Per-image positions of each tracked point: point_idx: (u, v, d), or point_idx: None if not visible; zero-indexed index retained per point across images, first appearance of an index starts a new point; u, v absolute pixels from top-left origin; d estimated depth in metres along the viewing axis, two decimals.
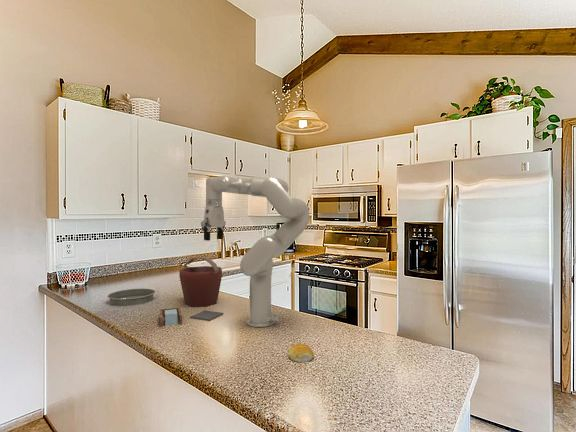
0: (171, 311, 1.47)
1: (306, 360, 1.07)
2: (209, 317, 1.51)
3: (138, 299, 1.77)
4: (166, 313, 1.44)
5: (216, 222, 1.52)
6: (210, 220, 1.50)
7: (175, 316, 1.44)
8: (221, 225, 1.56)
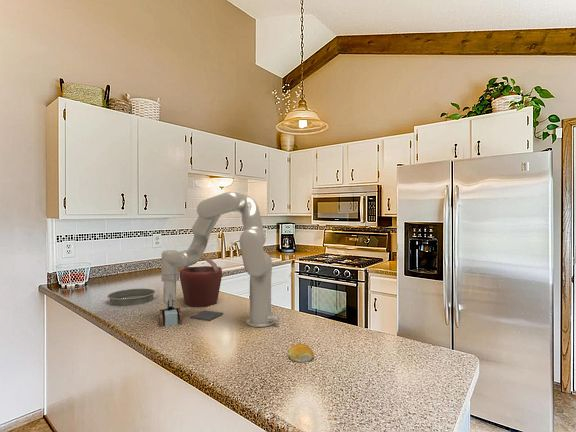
0: (171, 311, 1.46)
1: (306, 360, 1.07)
2: (209, 317, 1.51)
3: (138, 299, 1.77)
4: (166, 313, 1.43)
5: None
6: None
7: (175, 316, 1.43)
8: None
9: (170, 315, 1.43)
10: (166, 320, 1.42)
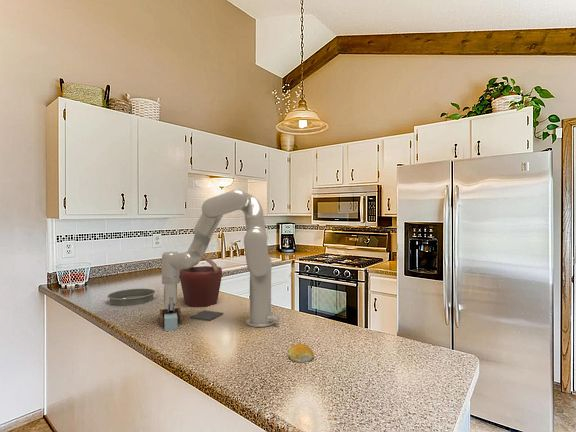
0: (171, 315, 1.40)
1: (306, 360, 1.07)
2: (209, 317, 1.51)
3: (138, 299, 1.77)
4: (166, 317, 1.37)
5: None
6: None
7: (175, 320, 1.37)
8: (164, 304, 1.43)
9: (170, 319, 1.37)
10: (165, 324, 1.36)
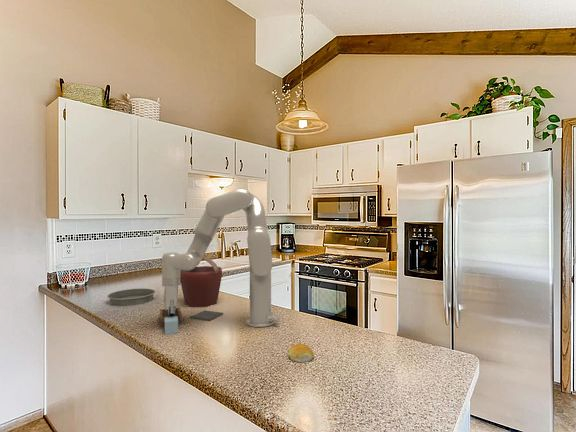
0: (171, 318, 1.36)
1: (306, 360, 1.07)
2: (209, 317, 1.51)
3: (138, 299, 1.77)
4: (166, 320, 1.33)
5: (164, 302, 1.42)
6: None
7: (176, 324, 1.33)
8: None
9: (170, 323, 1.32)
10: (166, 328, 1.32)
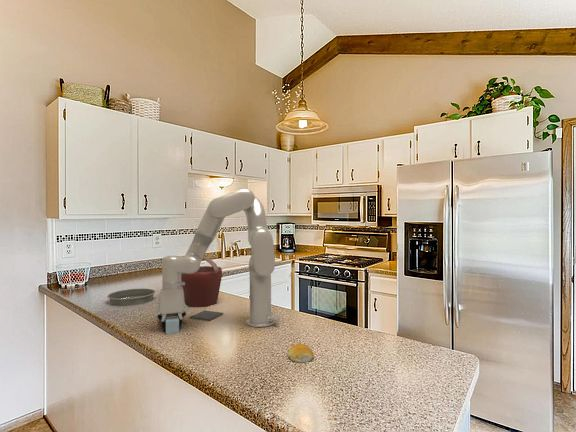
0: (172, 318, 1.36)
1: (306, 360, 1.06)
2: (209, 317, 1.51)
3: (138, 299, 1.77)
4: (167, 320, 1.33)
5: None
6: None
7: (177, 324, 1.33)
8: None
9: (171, 322, 1.32)
10: (167, 328, 1.32)
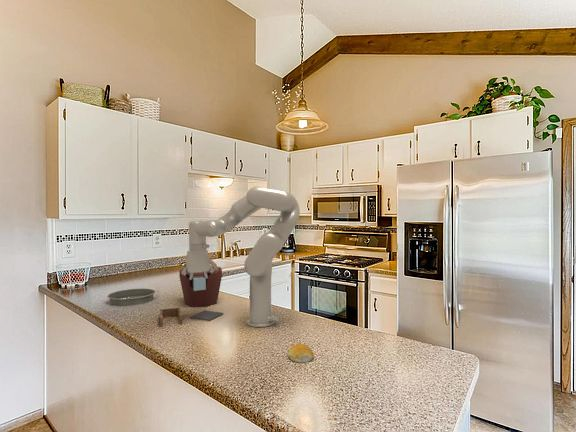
0: (198, 277, 1.50)
1: (306, 360, 1.06)
2: (209, 317, 1.51)
3: (138, 299, 1.77)
4: (194, 278, 1.46)
5: None
6: None
7: (203, 281, 1.47)
8: None
9: (199, 280, 1.46)
10: (195, 285, 1.45)
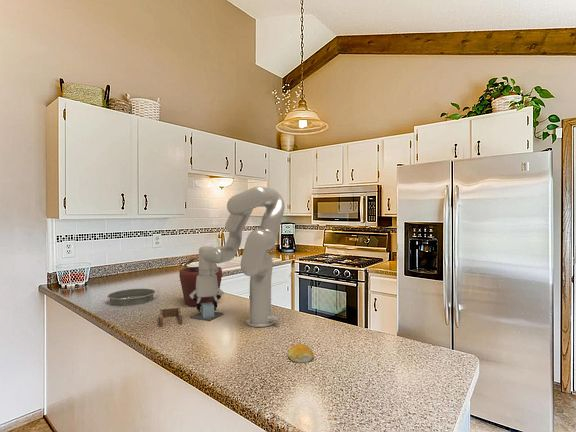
0: (207, 304, 1.55)
1: (306, 360, 1.06)
2: (209, 317, 1.51)
3: (138, 299, 1.77)
4: (203, 306, 1.52)
5: None
6: None
7: (212, 308, 1.52)
8: None
9: (207, 307, 1.51)
10: (204, 312, 1.51)
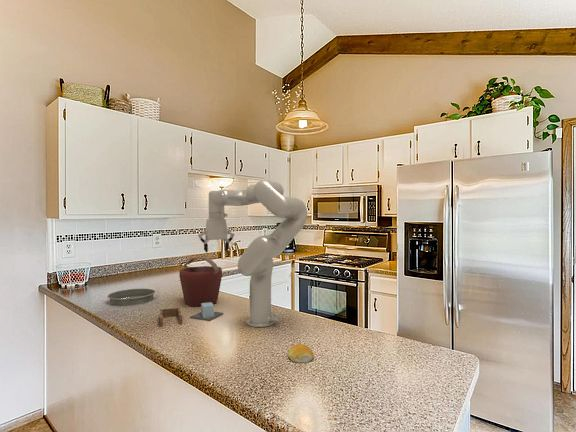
0: (207, 304, 1.55)
1: (306, 361, 1.06)
2: (209, 317, 1.51)
3: (138, 299, 1.77)
4: (203, 306, 1.52)
5: None
6: None
7: (212, 308, 1.52)
8: None
9: (207, 307, 1.51)
10: (204, 312, 1.51)
